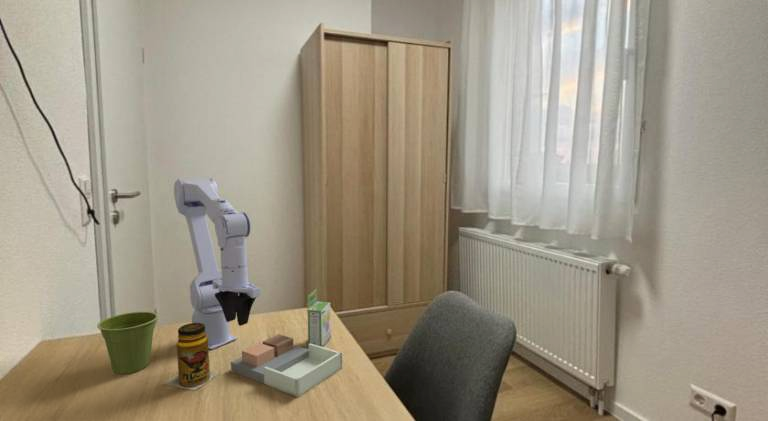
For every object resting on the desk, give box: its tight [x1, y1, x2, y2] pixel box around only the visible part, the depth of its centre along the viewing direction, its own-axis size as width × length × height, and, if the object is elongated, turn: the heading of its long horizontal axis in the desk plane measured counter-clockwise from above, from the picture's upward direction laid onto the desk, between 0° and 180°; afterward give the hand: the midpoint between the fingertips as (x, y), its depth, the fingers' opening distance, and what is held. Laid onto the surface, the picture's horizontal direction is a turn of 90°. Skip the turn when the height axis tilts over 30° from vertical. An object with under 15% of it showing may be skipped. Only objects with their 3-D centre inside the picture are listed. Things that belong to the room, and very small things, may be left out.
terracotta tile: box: [241, 342, 275, 367], centre depth 94 cm, size 5×5×2 cm
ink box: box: [306, 288, 332, 348], centre depth 107 cm, size 7×4×13 cm, turn 168°
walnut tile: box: [262, 333, 294, 356], centre depth 99 cm, size 5×5×2 cm
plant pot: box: [96, 311, 159, 375], centre depth 95 cm, size 12×12×11 cm
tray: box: [263, 343, 343, 398], centre depth 90 cm, size 10×14×4 cm
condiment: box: [163, 322, 220, 391], centre depth 89 cm, size 7×8×12 cm
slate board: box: [230, 344, 309, 384], centre depth 96 cm, size 11×14×2 cm
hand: (237, 322), depth 97 cm, fingers open, 4 cm apart
